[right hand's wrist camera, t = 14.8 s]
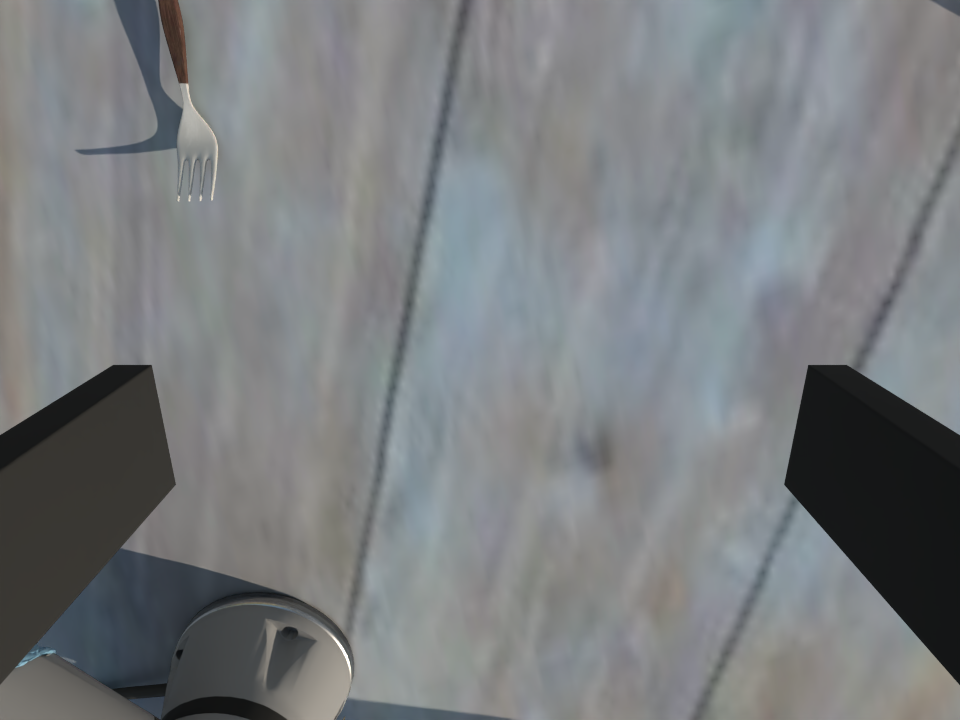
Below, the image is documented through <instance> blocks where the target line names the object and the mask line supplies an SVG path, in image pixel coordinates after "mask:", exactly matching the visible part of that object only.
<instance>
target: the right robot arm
mask: <svg viewBox="0 0 960 720" xmlns="http://www.w3.org/2000/svg"><path fill="white" fill-rule="evenodd" d="M175 485H176V484H175V479H174V474H173V469H172V464H171V459H170V454H169V449H168V444H167V439H166V434H165V429H164V424H163V419H162V414H161V409H160V404H159V399H158V394H157V389H156V384H155V379H154V374H153V370H152V365H113V366H111V367H109V368H108V369H106V370H105V371H103V372H101V373H100V374H98V375H96V376H95V377H93V378H92V379H90V380H88V381H87V382H85V383H84V384H82V385H80V386H79V387H77V388H76V389H74V390H72V391H71V392H69V393H67V394H66V395H64V396H63V397H61V398H59V399H58V400H56V401H55V402H53V403H51V404H50V405H48V406H47V407H45V408H43V409H42V410H40V411H39V412H37V413H35V414H34V415H32V416H30V417H29V418H27V419H26V420H24V421H22V422H21V423H19V424H18V425H16V426H14V427H13V428H11V429H10V430H8V431H6V432H5V433H3V434H1V435H0V720H336V718H337V717H338V715H339V714H340V712H341V711H342V709H343V707H344V704H345V702H346V700H347V698H348V695H349V692H350V688H351V683H352V679H353V674H354V659H353V654H352V651H351V648H350V645H349V643H348V641H347V639H346V638H345V636H344V635H343V633H342V632H341V630H340V629H339V628H338V627H337V626H336V625H335V624H334V623H333V622H332V621H331V620H330V619H329V618H328V617H327V616H325V615H324V614H323V613H321V612H320V611H318V610H317V609H315V608H313V607H312V606H310V605H307V604H305V603H303V602H301V601H298V600H296V599H293V598H289V597H286V596H281V595H276V594H269V593H245V594H238V595H233V596H229V597H226V598H223V599H220V600H218V601H216V602H214V603H212V604H210V605H208V606H207V607H205V608H204V609H202V610H201V611H200V612H199V613H198V614H197V615H196V616H195V617H194V618H193V619H192V620H191V621H190V623H189V624H188V626H187V628H186V629H185V631H184V633H183V634H182V636H181V638H180V639H179V641H178V643H177V646H176V649H175V651H174V654H173V657H172V661H171V666H170V674H169V678H168V683H167V684H157V685H146V686H135V687H126V688H117V689H110V688H109V687H107V686H106V685H104V684H102V683H101V682H99V681H98V680H96V679H94V678H93V677H91V676H90V675H88V674H86V673H85V672H83V671H82V670H80V669H79V668H77V667H75V666H74V665H72V664H71V663H69V662H67V661H66V660H64V659H63V658H61V657H59V656H58V655H56V650H54V649H53V648H49V647H41V646H39V645H37V644H36V643H37V642H38V641H39V640H40V639H41V638H42V637H43V636H44V634H45V633H46V632H47V631H48V630H49V629H50V628H51V626H52V625H53V624H54V623H55V622H56V621H57V620H58V618H59V617H60V616H61V615H62V614H63V613H64V612H65V610H66V609H67V608H68V607H69V606H70V605H71V604H72V602H73V601H74V600H75V599H76V598H77V597H78V596H79V594H80V593H81V592H82V591H83V590H84V589H85V588H86V586H87V585H88V584H89V583H90V582H91V581H92V580H93V578H94V577H95V576H96V575H97V574H98V573H99V572H100V570H101V569H102V568H103V567H104V566H105V565H106V564H107V562H108V561H109V560H110V559H111V558H112V557H113V556H114V554H115V553H116V552H117V551H118V550H119V549H120V548H121V546H122V545H123V544H124V543H125V542H126V541H127V540H128V539H129V537H130V536H131V535H132V534H133V533H134V532H135V531H136V529H137V528H138V527H139V526H140V525H141V524H142V523H143V521H144V520H145V519H146V518H147V517H148V516H149V515H150V513H151V512H152V511H153V510H154V509H155V508H156V507H157V505H158V504H159V503H160V502H161V501H162V500H163V499H164V497H165V496H166V495H167V494H168V493H169V492H170V491H171V489H172V488H173V487H174V486H175ZM784 485H785V486H786V487H787V488H788V489H789V491H790V492H791V493H792V494H793V495H794V496H795V497H796V499H797V500H798V501H799V502H800V503H801V504H802V505H803V507H804V508H805V509H806V510H807V511H808V512H809V513H810V515H811V516H812V517H813V518H814V519H815V520H816V521H817V523H818V524H819V525H820V526H821V527H822V528H823V529H824V531H825V532H826V533H827V534H828V535H829V536H830V537H831V539H832V540H833V541H834V542H835V543H836V544H837V545H838V546H839V548H840V549H841V550H842V551H843V552H844V553H845V554H846V556H847V557H848V558H849V559H850V560H851V561H852V562H853V564H854V565H855V566H856V567H857V568H858V569H859V570H860V572H861V573H862V574H863V575H864V576H865V577H866V578H867V580H868V581H869V582H870V583H871V584H872V585H873V586H874V588H875V589H876V590H877V591H878V592H879V593H880V594H881V596H882V597H883V598H884V599H885V600H886V601H887V602H888V604H889V605H890V606H891V607H892V608H893V609H894V610H895V612H896V613H897V614H898V615H899V616H900V617H901V618H902V620H903V621H904V622H905V623H906V624H907V625H908V626H909V628H910V629H911V630H912V631H913V632H914V633H915V634H916V636H917V637H918V638H919V639H920V640H921V641H922V642H923V643H924V645H925V646H926V647H927V648H928V649H929V650H930V651H931V653H932V654H933V655H934V656H935V657H936V658H937V659H938V661H939V662H940V663H941V664H942V665H943V666H944V667H945V669H946V670H947V671H948V672H949V673H950V674H951V675H952V677H953V678H954V679H955V680H956V681H957V682H958V683H959V685H960V435H959V434H957V433H955V432H954V431H952V430H950V429H949V428H947V427H946V426H944V425H942V424H941V423H939V422H938V421H936V420H934V419H933V418H931V417H930V416H928V415H926V414H925V413H923V412H921V411H920V410H918V409H917V408H915V407H913V406H912V405H910V404H909V403H907V402H905V401H904V400H902V399H901V398H899V397H897V396H896V395H894V394H893V393H891V392H889V391H888V390H886V389H884V388H883V387H881V386H880V385H878V384H876V383H875V382H873V381H872V380H870V379H868V378H867V377H865V376H864V375H862V374H860V373H859V372H857V371H855V370H854V369H852V368H851V367H849V366H847V365H808V370H807V374H806V379H805V384H804V389H803V394H802V399H801V404H800V409H799V414H798V419H797V424H796V429H795V434H794V439H793V444H792V449H791V454H790V459H789V464H788V469H787V474H786V479H785V484H784ZM160 696H165V699H164V705H163V710H162V716H161V719H158V718H157V717H155V716H154V715H152V714H151V713H149V712H147V711H146V710H144V709H142V708H141V707H139V706H137V705H136V704H134V703H132V702H131V701H129V700H128V699H138V698H149V697H160ZM343 720H345V717H344V718H343Z"/></svg>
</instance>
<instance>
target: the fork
mask: <svg viewBox="0 0 960 720" xmlns="http://www.w3.org/2000/svg"><path fill="white" fill-rule="evenodd" d="M158 1H159V9H160V15H161V21H162V25H163V29H164V33H165V37H166V40H167V44H168V47H169V51H170V54H171V57H172V61H173V64H174V68H175V71H176V74H177V78H178V81H179V85H180V88H181V92H182V97H183V112H182V116H181V120H180V124H179V128H178V133H177V157H178V192H177V201H178V202H179V198H180V192H181V185H182V178H183V169H184V163H185V161H186V160H188V162H189V195H188V200H189V201H190V199H191V192H192V185H193V178H194V169H195V163H196V161H197V160H199V162H200V198H199V200H200V201H201V199H202V193H203V186H204V178H205V169H206V163H207V160H210V161H211V198H210V200H211V201H212V200H213V193H214V186H215V179H216V169H217V157H218V144H217V140H216V137H215V135H214V133H213V131H212V130H211V128H210V127H209V126H208V124H207V123H206V122H205V121H204V119H203V118H202V117H201V116H200V115H199V113H198V112H197V111H196V110H195V108H194V106H193V105H192V103H191V100H190V95H189V87H188V74H187V60H186V47H185V36H184V27H183V21H182V16H181V11H180V7H179V4H178V0H158Z"/></svg>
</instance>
